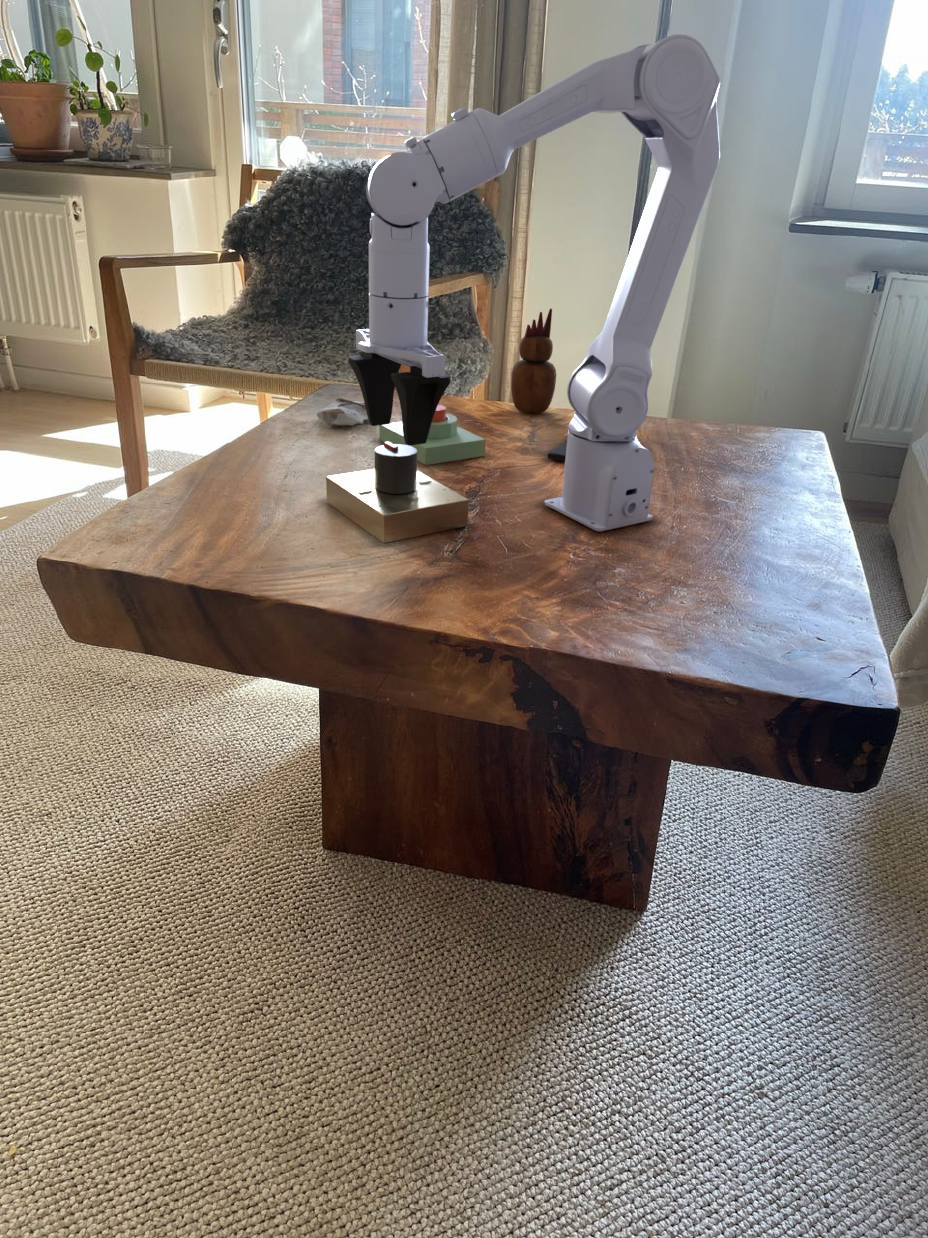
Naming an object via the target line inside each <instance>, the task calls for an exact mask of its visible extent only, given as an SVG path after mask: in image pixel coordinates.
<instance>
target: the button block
mask: <svg viewBox="0 0 928 1238" xmlns="http://www.w3.org/2000/svg"><path fill="white" fill-rule="evenodd" d="M378 426H379V441H380V442H382V443H384V442H390V443H392V444H402V445H407V444H405V440H404V435H403V425H402V420H399V421H394V422H390V424H386V425H378ZM486 443H487V442H486V439H485V438H483V437H481V436H479V435H476V434H475V433H473V432H471V431H468V430H466V429H464V428H462V427H459V426H458V417H457V416H455V415H453V414H451V413H448V412H446V421H444V422H432V423H431V427H430V431H429V434H428V438H427V441H426V443H425V444H418V445H408V446H411V447H414V448H416V449H417V462H419V463H420V464H421V465H424V466H429V465H435V464H442V463H447V462H448V463H449V462H455V461H461V460H468V459H474V458H480V457H485V455H486Z"/></svg>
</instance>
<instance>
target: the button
mask: <svg viewBox="0 0 928 1238" xmlns="http://www.w3.org/2000/svg"><path fill="white" fill-rule="evenodd" d="M446 413H447V406H445V405H443V404H438V406H437V408H436V411H435V414H434V417H433V420H432V422H444V421H446Z"/></svg>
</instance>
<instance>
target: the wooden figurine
mask: <svg viewBox="0 0 928 1238" xmlns="http://www.w3.org/2000/svg"><path fill="white" fill-rule="evenodd" d="M552 316H553V308H549V310H548V313H547V316H546V318H545V322H544V319H543V317H544V316H543V312H542V311H540V312H539V315H538V320H537V322H536V319H532V323H531V325H530V324H527V325H526V329H525V333H524V336H523V337H522V338H521V339H520V342H519V348H518V351H519V356H520V358H521V360H520V359H519V361H516V362H515V363H514V364H513V366H512V369H511V374H510V391H511V399H512V403H513V406H514V407H515V409H516V410H518V411H519V412H522V413H526V414H540V413H544V412H546V411H547V410H548V409H549V407H550V406H551V403H552V401H553V399H554V395H555V391H556V390H555V389H556V384H557V369H556V367H555V365H554V364H553V363H552V362H551V361H549V360H550V359H551V358H552V355H553V351H554V347H553V346H554V344H553V340H552V339H551V338H550V337H551V329H552V319H553V318H552Z"/></svg>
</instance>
